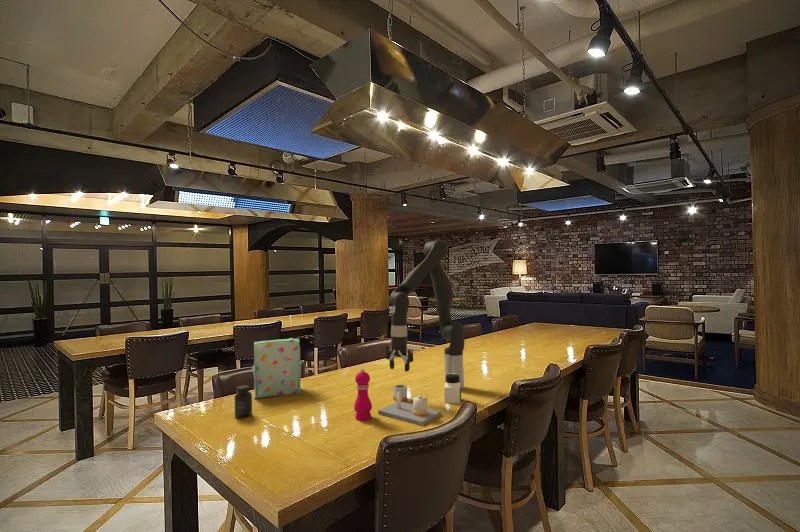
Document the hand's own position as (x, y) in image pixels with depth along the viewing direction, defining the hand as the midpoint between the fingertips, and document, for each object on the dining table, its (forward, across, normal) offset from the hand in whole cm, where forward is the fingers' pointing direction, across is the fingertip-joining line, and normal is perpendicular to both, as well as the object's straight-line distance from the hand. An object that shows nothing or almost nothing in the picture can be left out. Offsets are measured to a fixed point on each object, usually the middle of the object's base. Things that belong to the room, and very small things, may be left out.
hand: (399, 370), depth 181 cm
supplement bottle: (+14, +41, +54) cm, 69 cm away
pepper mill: (+14, -2, +27) cm, 30 cm away
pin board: (+14, -15, +13) cm, 24 cm away
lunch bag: (+14, +56, +27) cm, 64 cm away
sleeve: (+14, 0, 0) cm, 14 cm away
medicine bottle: (+14, -21, -12) cm, 28 cm away
